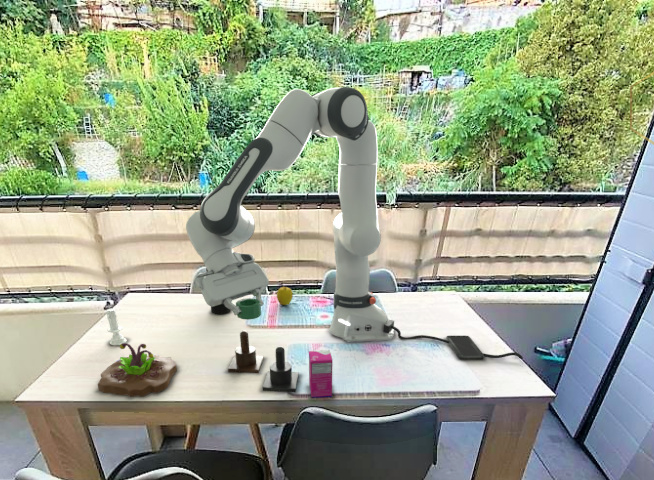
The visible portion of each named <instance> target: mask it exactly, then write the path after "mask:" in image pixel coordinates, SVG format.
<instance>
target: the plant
mask: <svg viewBox="0 0 654 480" xmlns="http://www.w3.org/2000/svg"><path fill="white" fill-rule="evenodd" d="M126 346H127V347H128V350H130V352H131V354H129V356H120V357H119V360H117V361H115V362H113V363H111V364H110V365H109V366H107V368H105V369H104V370H103V371H102V372H101V373H100V377H101V378H100V379H99V381H98V383H97V389H98V392H101V393H105V394H113V395H119V396H129V397H130V398H132V397H145V396H147V395H149V394H151V393H154V394H158V393H160V392H163V391H164V390H166V389H167V388H168V387H169V385H170V382H171V380H172V378H173V376H174V375H175V374H176V373H177V372H178V369H177V368H178V367H177V365H176V364H177V363H176V361H175V360H174V359H173V358H172V356H167V357H164V356H161V355H157V354H155V355H154V354H153V352H151V351H149V350H147V349H146V348H147V344H146V343H140V344H139V345H138V347H137V350H136V351H137V352H136V351H135V349H134V347H132V346H131V344H130V343H127V342H126V343H122V344H120V345H119V348H120V349H121V350H124V349H125V348H126ZM141 348H142V349H143V350H141ZM144 349H145V350H144Z"/></svg>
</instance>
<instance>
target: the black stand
mask: <svg viewBox="0 0 654 480" xmlns="http://www.w3.org/2000/svg"><path fill="white" fill-rule="evenodd" d="M292 367H293V366H292V364H291V363H290V362H288V361H286V352H285V348H284V347H283V346H281V345H280V346H279V345H278V346H277V347H276V348H275V362H272V363H271V364H270V365H269V370H267V373H266V376H265V378H264V382H263V384H262V387H261V388H262V392H273V393H275V392H277V393H296V391H297V386H298V382H299V377H300V372H299V371H293V369H292Z"/></svg>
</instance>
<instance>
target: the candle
mask: <svg viewBox="0 0 654 480" xmlns="http://www.w3.org/2000/svg"><path fill="white" fill-rule="evenodd" d="M105 312H106V316H107V317H106V318H107V321H108V325H109V327H108V328H107V332H109V333H112V337H111V338H110V341H109V345H111V346H120V344H122V343H127V342H128V340H127V338H125V337H124V336H123V335H122V334H121V333H120V331H122V330H123V328H124V327H123V326H121V325H119V322H118V318H117V317H118V316H117V314H116V310H115V309H114V308H107V309H106V310H105Z"/></svg>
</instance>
